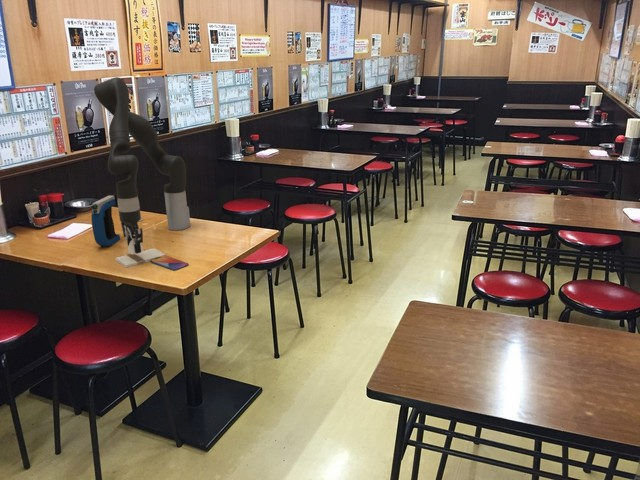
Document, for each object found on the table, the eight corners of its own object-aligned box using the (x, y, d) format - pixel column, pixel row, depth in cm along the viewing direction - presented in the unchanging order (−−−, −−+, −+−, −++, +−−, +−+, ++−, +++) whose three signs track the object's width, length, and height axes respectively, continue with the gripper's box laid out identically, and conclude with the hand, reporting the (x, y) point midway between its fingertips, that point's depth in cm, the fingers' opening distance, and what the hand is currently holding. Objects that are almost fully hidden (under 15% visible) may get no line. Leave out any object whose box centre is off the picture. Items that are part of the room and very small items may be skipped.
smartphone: (174, 272, 190) (174, 269, 189) (149, 262, 198) (148, 260, 198) (190, 266, 195) (190, 263, 195) (165, 257, 204) (164, 254, 203)
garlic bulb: (144, 236, 199) (134, 240, 194) (146, 250, 201) (136, 255, 196) (132, 234, 201) (123, 238, 196) (134, 249, 203) (125, 253, 198)
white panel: (154, 250, 210) (153, 248, 210) (165, 257, 203) (165, 254, 203) (115, 260, 200) (114, 257, 199) (126, 267, 193) (125, 265, 192)
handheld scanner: (124, 237, 226) (117, 193, 219) (106, 250, 210) (98, 203, 204) (114, 237, 226) (106, 193, 220) (95, 250, 211) (87, 203, 204)
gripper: (147, 210, 191) (152, 253, 196) (130, 202, 201) (136, 243, 206) (127, 214, 186) (133, 258, 192) (111, 206, 196) (117, 248, 202)
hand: (134, 250), depth 199 cm, fingers closed on garlic bulb, 5 cm apart
